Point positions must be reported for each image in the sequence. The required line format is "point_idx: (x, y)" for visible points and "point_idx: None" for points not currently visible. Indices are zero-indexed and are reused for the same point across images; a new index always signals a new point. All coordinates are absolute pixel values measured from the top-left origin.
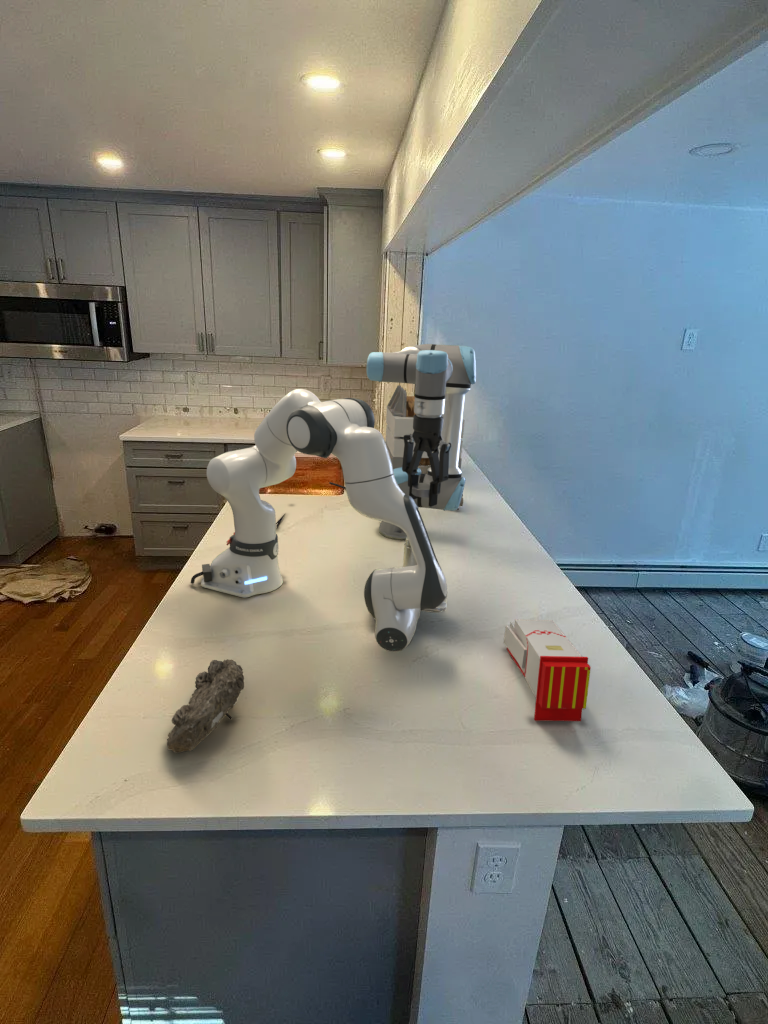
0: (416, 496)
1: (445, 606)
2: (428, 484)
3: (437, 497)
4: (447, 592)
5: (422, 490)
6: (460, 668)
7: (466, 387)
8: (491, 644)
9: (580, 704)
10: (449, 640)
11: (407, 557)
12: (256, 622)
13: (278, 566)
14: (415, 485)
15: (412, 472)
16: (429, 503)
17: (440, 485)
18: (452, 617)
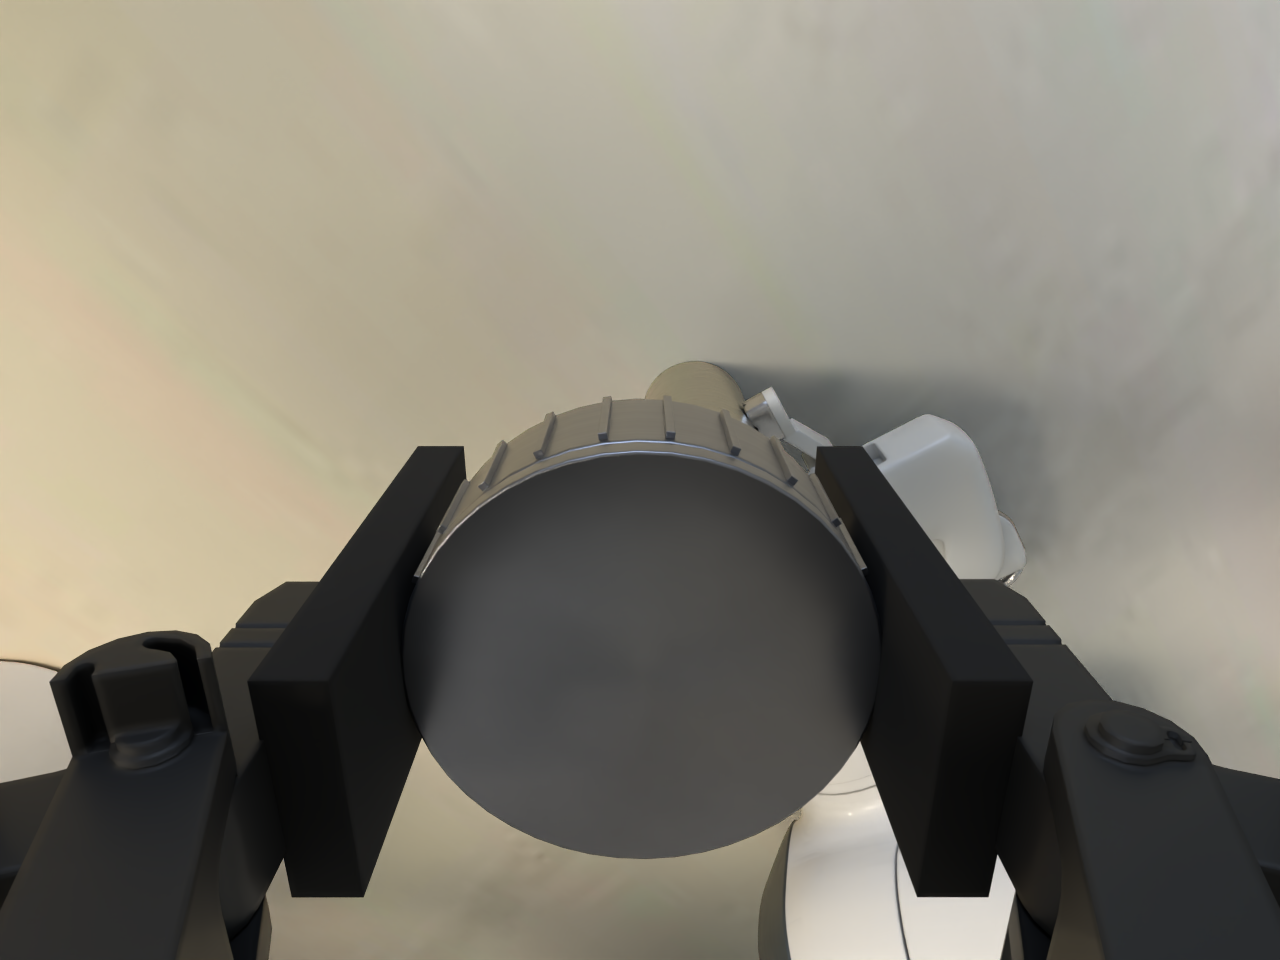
0: (457, 479)
1: (1022, 551)
2: (634, 514)
3: (894, 492)
4: (973, 443)
5: (752, 822)
6: (1162, 673)
7: None
8: (1221, 444)
9: None
10: (1035, 548)
11: None
12: (355, 932)
13: (37, 769)
14: (490, 746)
15: (235, 904)
16: None
17: (1098, 697)
18: (950, 369)
